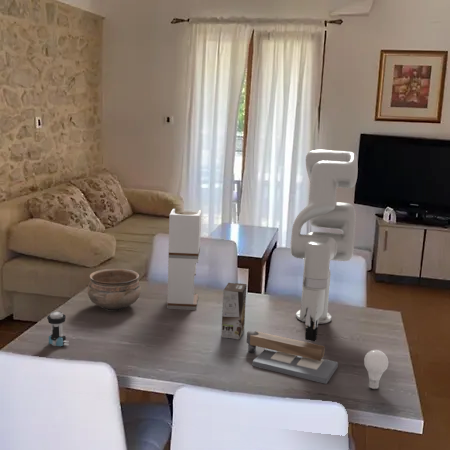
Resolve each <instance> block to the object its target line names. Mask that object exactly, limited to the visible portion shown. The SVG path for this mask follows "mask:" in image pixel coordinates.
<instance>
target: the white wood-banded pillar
mask: <svg viewBox="0 0 450 450" xmlns="http://www.w3.org/2000/svg"><path fill="white" fill-rule="evenodd" d="M168 215H169V219H168V222H169V223H168V224H169V225H168V227H169V228H168V256H167V257H168V261H167V262H168V264H167V265H168V267H167V269H168V270H167V305H166V307H167V309H171V310H173V309H174V310H189V311H190V310H191V311H197V308H198V303H199V294H198V293H197V294H196V293H195V276H196V275H197V264H198V263H199V261H200V255H201V233H202V232H201V231H202V210H201V209H199V210H198V212H197V213H195V214H181V213H176V208H172V210H171V211H170V213H169V214H168Z"/></svg>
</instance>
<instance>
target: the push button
mask: <svg viewBox="0 0 450 450" xmlns="http://www.w3.org/2000/svg"><path fill="white" fill-rule="evenodd" d="M46 317H47V321H48V323H49V324H50V335H49V336H48V345H50V344H52V345H51V346H53V347H56V346H57V347H61V346H62V347H63V346H69V345H70V344H69V342H70V341H69V340H67V337H66V335H64V333H63V324H64V323H65V322H66V315H65V314H64V312H62V311H57V310H56V311H51V312H50V314H49V315H47V316H46Z"/></svg>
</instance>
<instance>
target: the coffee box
mask: <svg viewBox="0 0 450 450" xmlns="http://www.w3.org/2000/svg"><path fill="white" fill-rule="evenodd" d="M246 298H247V284H246V283H239V282H238V283H236V282H235V283H234V282H228V283H227V284H226V286H225V288H224V289H223V294H222V311H221V312H222V314H221V335H220V337H221V338H225V339H235V340H240V339H241V337H242V335H243V333H244V331H245V321H246V320H245V319H246V301H247V299H246Z"/></svg>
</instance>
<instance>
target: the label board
mask: <svg viewBox="0 0 450 450" xmlns="http://www.w3.org/2000/svg"><path fill="white" fill-rule="evenodd" d="M338 365H339V362H338V361H333V360H329V359H326V358H325V359H324V358H322V359H321V361H318V360H314V359H310V358H305V357H301V356H297V355H292V354H288V353H284V352H279V351H275V350H271V349H266V348H264V349H263V350H262V351H261V352H260V353H259V354H258V355H257V357H255V358H254V359H253V360H252V366H253V367H255V368H256V367H257V368H260V369H265V370H268V371H272V372H276V373H280V374H285V375H288V376H293V377H297V378H301V379H305V380H309V381H313V382H317V383H320V384H325V385H327V384H328V383H329V381H330V380H331V378H332V376H333V375H334V373H335V372H336V370H337V369H338Z"/></svg>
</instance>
